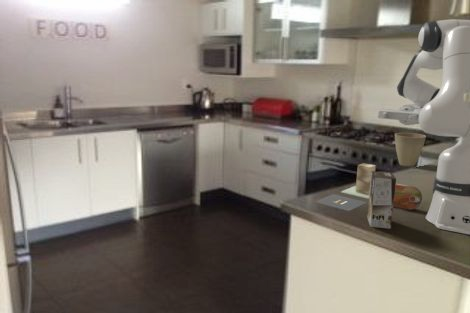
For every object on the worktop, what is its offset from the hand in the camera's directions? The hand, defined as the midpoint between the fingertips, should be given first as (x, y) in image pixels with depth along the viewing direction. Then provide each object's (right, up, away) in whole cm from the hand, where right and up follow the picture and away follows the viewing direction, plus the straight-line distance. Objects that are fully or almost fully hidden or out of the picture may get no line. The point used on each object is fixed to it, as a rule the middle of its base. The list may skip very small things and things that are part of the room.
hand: (395, 116), depth 165 cm
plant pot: (+26, -20, +52) cm, 61 cm away
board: (-13, -31, -1) cm, 33 cm away
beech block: (-13, -30, -1) cm, 33 cm away
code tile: (-25, -33, -13) cm, 43 cm away
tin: (-5, -34, -16) cm, 38 cm away
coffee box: (-18, -37, -33) cm, 53 cm away
